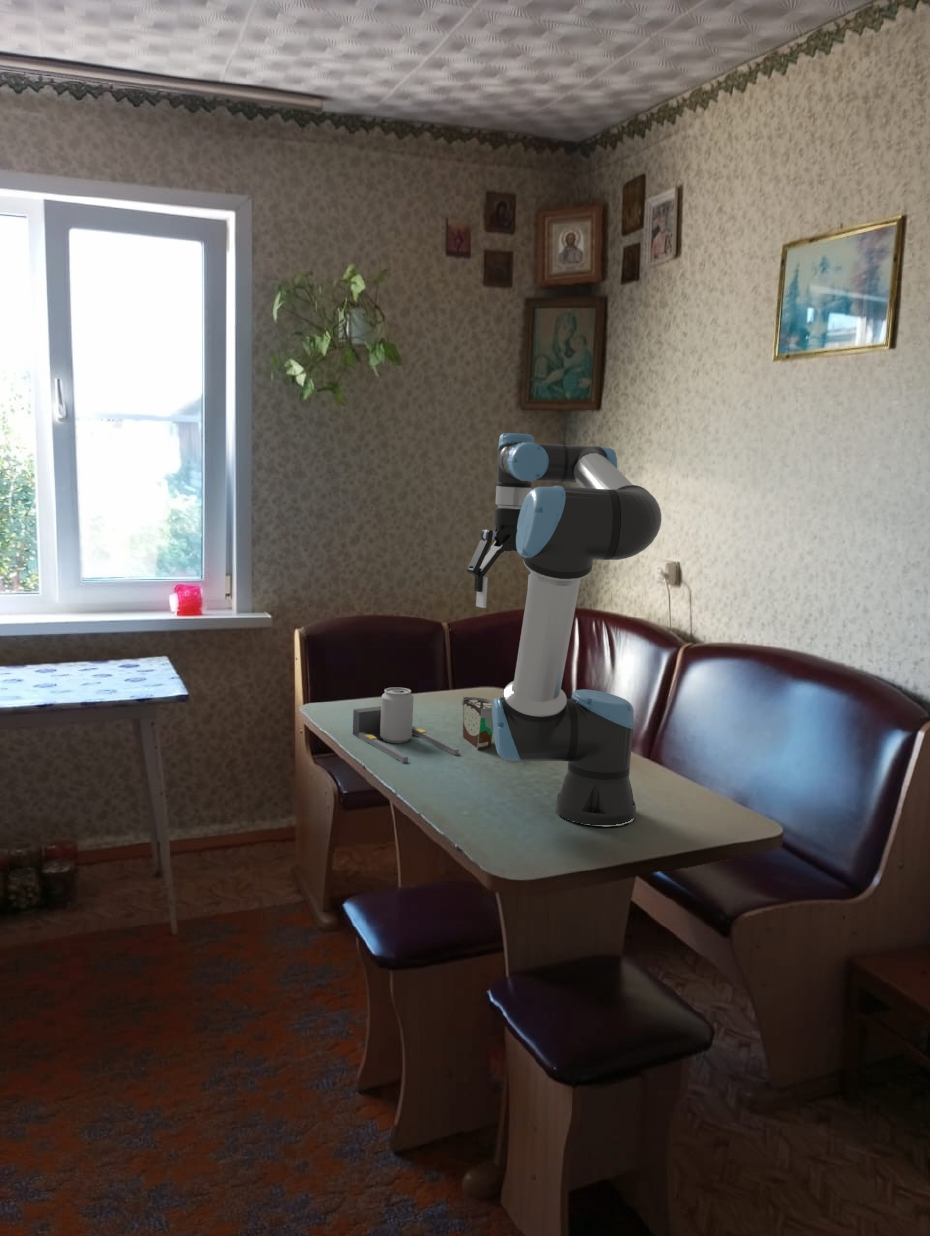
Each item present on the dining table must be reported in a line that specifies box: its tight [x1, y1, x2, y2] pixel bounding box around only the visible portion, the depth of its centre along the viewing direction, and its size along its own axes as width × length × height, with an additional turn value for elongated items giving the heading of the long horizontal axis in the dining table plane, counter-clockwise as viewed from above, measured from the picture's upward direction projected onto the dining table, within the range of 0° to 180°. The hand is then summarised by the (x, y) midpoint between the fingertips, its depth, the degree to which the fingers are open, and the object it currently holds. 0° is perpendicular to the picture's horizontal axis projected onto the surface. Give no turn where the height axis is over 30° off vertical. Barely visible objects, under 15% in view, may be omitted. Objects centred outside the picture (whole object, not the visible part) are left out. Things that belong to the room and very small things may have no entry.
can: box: [379, 687, 414, 744], centre depth 224 cm, size 8×8×12 cm
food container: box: [461, 696, 494, 751], centre depth 224 cm, size 12×6×10 cm, turn 22°
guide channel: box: [352, 705, 460, 764], centre depth 221 cm, size 24×15×6 cm, turn 33°
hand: (506, 605), depth 207 cm, fingers open, 13 cm apart
